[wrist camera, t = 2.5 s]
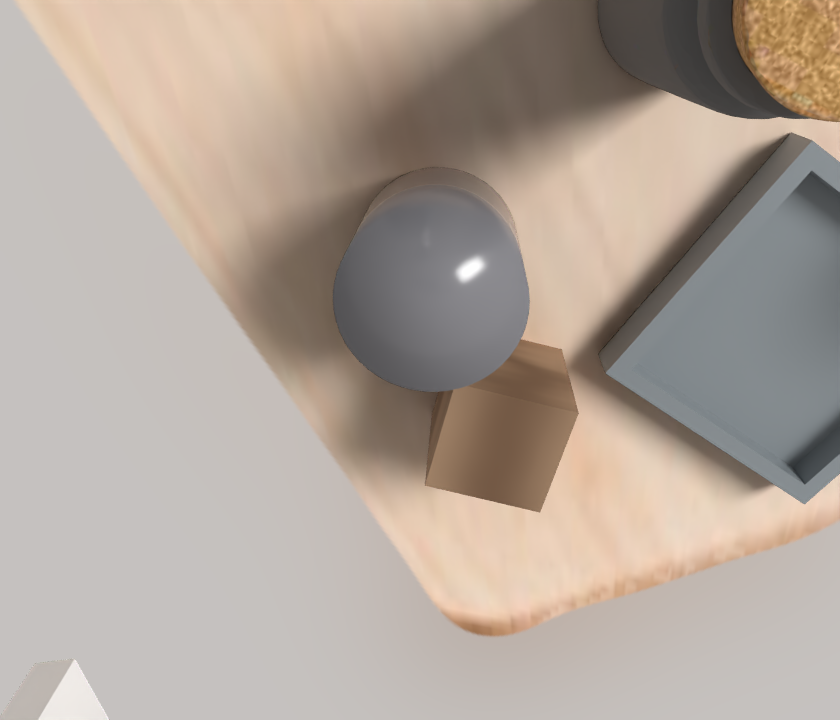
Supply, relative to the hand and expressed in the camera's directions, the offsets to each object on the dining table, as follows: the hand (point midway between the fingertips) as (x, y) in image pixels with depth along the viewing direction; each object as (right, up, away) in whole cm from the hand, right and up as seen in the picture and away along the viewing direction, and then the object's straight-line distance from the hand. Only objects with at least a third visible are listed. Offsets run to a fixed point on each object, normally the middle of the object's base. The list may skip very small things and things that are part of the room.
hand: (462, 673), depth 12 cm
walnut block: (+3, +4, +23) cm, 24 cm away
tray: (+16, +7, +21) cm, 27 cm away
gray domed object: (0, +10, +20) cm, 23 cm away
